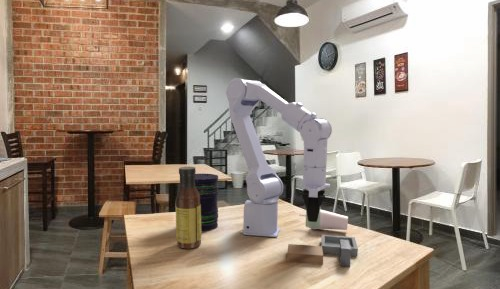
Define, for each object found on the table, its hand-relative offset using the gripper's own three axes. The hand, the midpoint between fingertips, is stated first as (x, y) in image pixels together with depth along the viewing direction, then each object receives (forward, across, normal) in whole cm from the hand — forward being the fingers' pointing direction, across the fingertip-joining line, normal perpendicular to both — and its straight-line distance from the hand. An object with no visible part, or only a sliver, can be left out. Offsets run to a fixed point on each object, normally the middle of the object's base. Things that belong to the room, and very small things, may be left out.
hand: (312, 219), depth 93 cm
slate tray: (+7, -1, -7) cm, 9 cm away
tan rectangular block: (+7, -9, +1) cm, 12 cm away
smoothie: (+4, +12, -10) cm, 16 cm away
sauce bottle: (+7, -8, +30) cm, 32 cm away
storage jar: (+7, +8, +32) cm, 34 cm away
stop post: (+7, -9, -8) cm, 14 cm away
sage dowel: (+2, 0, 0) cm, 2 cm away
